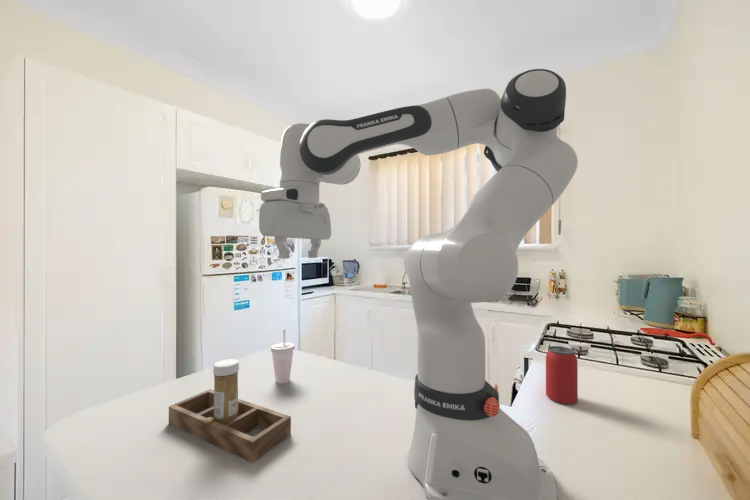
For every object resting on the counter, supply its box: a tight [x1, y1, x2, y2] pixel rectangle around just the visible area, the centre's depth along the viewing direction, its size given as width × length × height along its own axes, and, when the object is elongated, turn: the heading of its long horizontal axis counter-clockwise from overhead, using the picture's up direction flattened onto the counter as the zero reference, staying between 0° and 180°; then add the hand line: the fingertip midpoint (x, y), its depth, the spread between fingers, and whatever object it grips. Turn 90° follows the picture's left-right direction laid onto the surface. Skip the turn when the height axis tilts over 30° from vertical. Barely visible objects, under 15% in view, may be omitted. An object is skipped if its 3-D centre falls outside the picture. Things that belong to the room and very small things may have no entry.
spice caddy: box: [168, 388, 292, 464], centre depth 61 cm, size 25×9×4 cm, turn 62°
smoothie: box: [270, 328, 295, 385], centre depth 84 cm, size 6×6×14 cm
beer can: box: [545, 345, 579, 406], centre depth 73 cm, size 7×7×12 cm
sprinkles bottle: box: [212, 358, 240, 425], centre depth 61 cm, size 5×5×14 cm
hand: (299, 258), depth 69 cm, fingers open, 8 cm apart
